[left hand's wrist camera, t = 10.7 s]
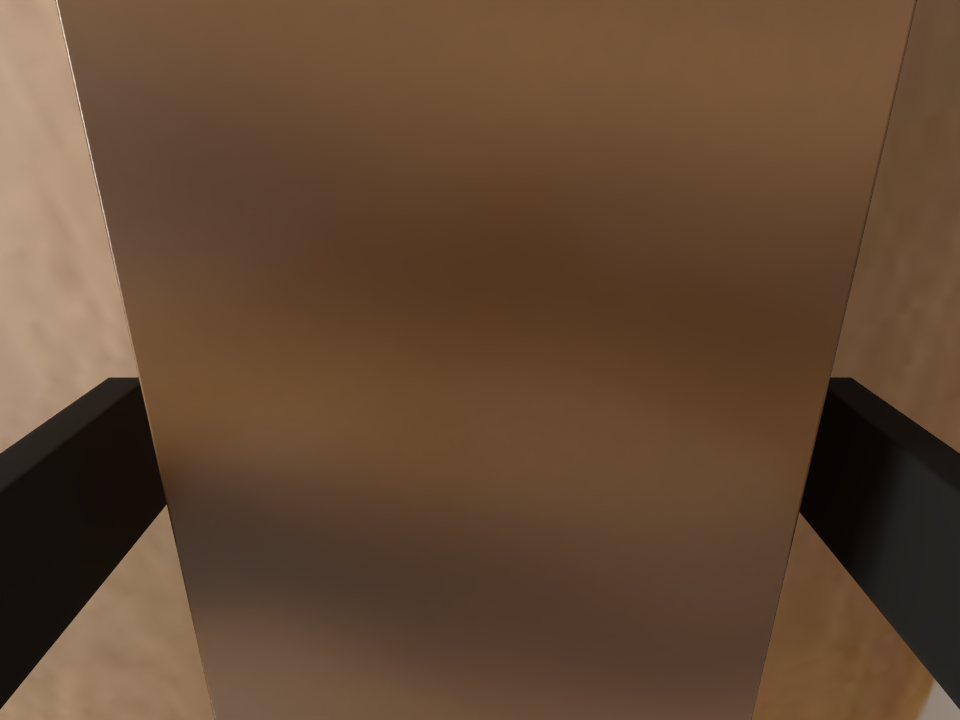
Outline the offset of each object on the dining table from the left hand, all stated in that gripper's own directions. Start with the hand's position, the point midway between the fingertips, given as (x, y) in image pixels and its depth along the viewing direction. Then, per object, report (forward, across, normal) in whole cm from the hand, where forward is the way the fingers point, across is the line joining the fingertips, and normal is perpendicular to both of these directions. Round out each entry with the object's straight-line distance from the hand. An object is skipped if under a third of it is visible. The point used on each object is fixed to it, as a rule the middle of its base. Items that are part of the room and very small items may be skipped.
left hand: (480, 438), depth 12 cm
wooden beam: (+4, 0, -29) cm, 29 cm away
